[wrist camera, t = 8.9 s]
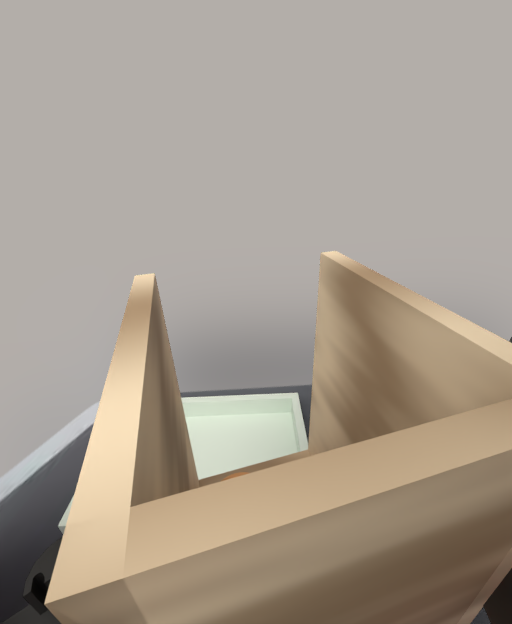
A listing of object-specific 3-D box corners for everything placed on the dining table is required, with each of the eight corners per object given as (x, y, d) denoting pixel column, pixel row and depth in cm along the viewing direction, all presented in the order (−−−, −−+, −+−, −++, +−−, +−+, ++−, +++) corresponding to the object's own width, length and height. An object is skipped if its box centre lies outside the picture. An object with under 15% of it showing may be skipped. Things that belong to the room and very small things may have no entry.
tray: (296, 411, 35) (297, 392, 34) (320, 536, 23) (322, 515, 22) (129, 418, 35) (123, 400, 34) (71, 546, 24) (57, 526, 22)
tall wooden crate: (426, 679, 9) (636, 407, 4) (210, 790, 8) (44, 603, 2) (316, 462, 16) (335, 250, 11) (189, 498, 15) (135, 275, 9)
